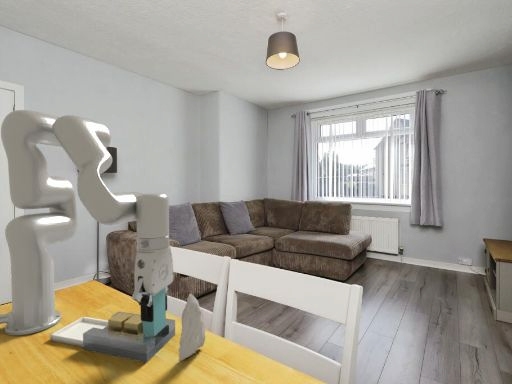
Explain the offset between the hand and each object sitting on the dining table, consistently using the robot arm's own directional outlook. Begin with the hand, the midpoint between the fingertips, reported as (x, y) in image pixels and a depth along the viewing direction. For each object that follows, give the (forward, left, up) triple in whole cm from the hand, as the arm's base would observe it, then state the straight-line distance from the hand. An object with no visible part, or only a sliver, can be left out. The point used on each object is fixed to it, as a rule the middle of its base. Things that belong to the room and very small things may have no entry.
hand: (154, 314), depth 69 cm
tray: (-17, +14, -8) cm, 23 cm away
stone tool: (+8, -8, -8) cm, 14 cm away
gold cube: (-4, +3, -6) cm, 8 cm away
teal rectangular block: (0, 0, -4) cm, 4 cm away
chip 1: (-8, +7, -6) cm, 12 cm away
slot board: (-5, +4, -8) cm, 10 cm away
